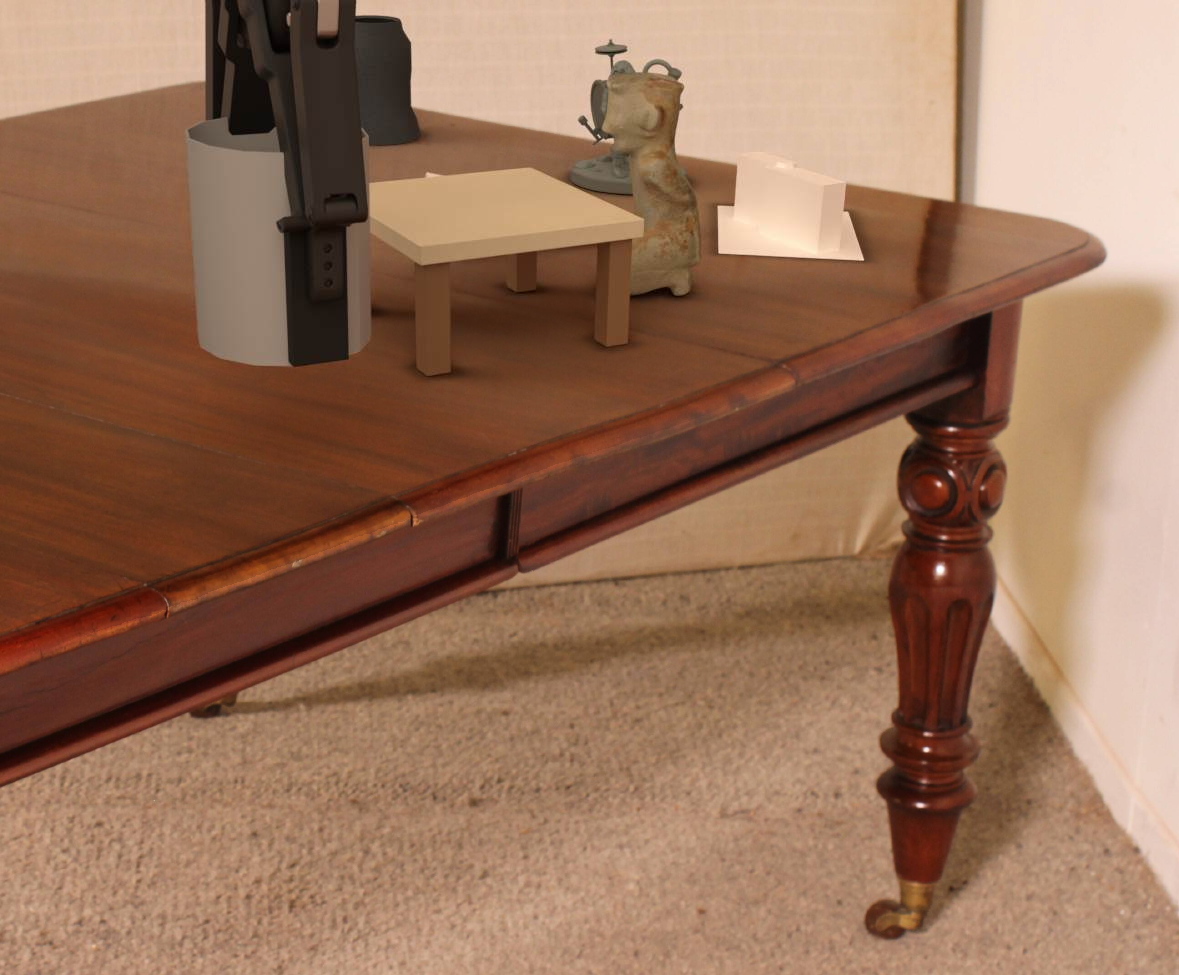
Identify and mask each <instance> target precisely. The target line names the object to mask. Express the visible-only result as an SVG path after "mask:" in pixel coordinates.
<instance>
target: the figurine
mask: <svg viewBox="0 0 1179 975" xmlns="http://www.w3.org/2000/svg"><path fill="white" fill-rule="evenodd" d="M608 40H609V42H607V44H603V45H599V46H596V47H595V48H594V53H595V54H596V55H600V56H608V57H609V58H610V59H609V60H610V74H609V76H608V78H609V77H610V76H612V75H615V74H619V73H634V72H636V69H635V68H634V67H633V64H631V62H630V61H628V60H625V59H622V60H618V61H617V62H615V63H614V57H615V56H616V55H621V54H624V53H627V52H628V46H627V45H625V44H615V43H614V42H613V39H612V38H610V39H609V38H608ZM656 65H659V66H662V67H664V68H665V69H666V71H668V72H667V74H666V75H667V76H671V77H673V78H675V79H676V80H677V81H678V80H679V79H680V78H681V77H682V74H683V72H682V71H681V70H680V69H679V68H677V67H672V65H671V64H670V63H669V62H668V61H666V60H663V59H661V58H655V59H652V60H650V61H648V62H647V63H646V64H645V65H644V66H643V69H642V72H646V73H649V70H650V68H652V67H654V66H656ZM608 78H607V79H603V80H602V79H595V80H594V81H593V82H592V84H591V88H590V95H589V96H590V97H589V99H590V112H591V118H592V122H593V126H594V128H592V127H591V126H590V125H589V123H588V122H589V120H588V118H586V116H585V115H580V116H579V117H578V118H577V121H578V123H579V124H580V125H581V126H584V127H585V128H586V129H587V130H588V132H589V133H590V134H591V135H592V136H593V138H594V139H595V141H594V142H592V145H593V146H595V145H596V144H598V143H599V142H600V141H602V140H605V141H607V140H609V139H613V136H612V135H610V134H608V133H605V132H603V130H602V126H603V123H604V120H605V117H606V114H607V106H608V95H609V90H608V87H607V80H608ZM683 109H684V105H683V103H680V111H682V110H683ZM609 149H610V152H611V155H609V154H603V155H601V156H599V157H591V158H585V159H580V160H578V161H576V162H574V163H572V164H571V165H570V167H569V180H570V182H571V183H572V184H574V185H576V186H578V187H580V188H583V189H587V190H589V191H590V190H591V191H593V192H601V193H607V194H621V195H633V191H632V183H631V175H630V165H629V154H628V153H620V152H617V151H616V150H615V147H614V143H612V144H611V145H610V148H609ZM679 167H680V169H681V171H682V172H683V174H684V175H685V177H686V178H687V179H688V170H687V168H685V167H684V166H682V165H681V164H679Z"/></svg>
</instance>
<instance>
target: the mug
mask: <svg viewBox="0 0 1179 975" xmlns="http://www.w3.org/2000/svg"><path fill="white" fill-rule="evenodd" d="M354 47H355V59H356V71H357V83H358V96H359V108H360V120H361V128H363V129H364V131H365V132H366V133H367V134H368V136H369V146H389V145H400V144H405V143H406V144H407V143H411V142H415V141H416V140H419V139H420V138H421V137H422V134H421V130H420V125H419V121H418V118H417V114H416V112H415V111H414V109H413V107H412V72H413V71H412V70H413V65H412V63H413V61H412V58H413V57H412V42H411V40H410V38H409V37H408V35H407V34H406V32H405V30H404V28H403V23H402V20H401V19H400V18H399V17H396V16H390V15H378V14H377V15H376V14H375V15H373V14H369V15H368V14H367V15H366V14H364V15H363V14H362V15H361V14H360V15H356V18H355V41H354Z"/></svg>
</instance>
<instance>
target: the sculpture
mask: <svg viewBox="0 0 1179 975" xmlns="http://www.w3.org/2000/svg"><path fill="white" fill-rule="evenodd" d="M667 75H668V74H663V73H657V72H648V73H646V72H643V71H640V72H639V71H635V72H634V73H619V74H615V75H612V76H610V75H609V76H610V77H609V76H608V77H609V78H607V79H606V80H607V87H608V90H609V95H608V106H607V114H606V117H605V120H604V123H603V126H602V130H603V132H605V133H608V134H610V135H612V136H613V138H612V139H613V144H614V147H615V150H616V151H617V152H620V153H628V154H629V165H630V175H631V183H632V191H633V194H632V200H633V210H634V215H636V216H638V217H641V218H643V219H644V234H643V237H642V238H635V239H632V258H631V281H630V296H637V295H643V294H647V293H649V292H651V291H655V290H657V289H662V288H668V289H669V290H670V292H671V293H672V294H673V295H674V296H676V297H677V296H678V297H680V296H684V295H686V294H688V293H689V292H690V290H691V286H692V269H693V267H695V266H697V265H698V264H699V263H700V262H701V261H702V251H701V250H702V235H701V225H700V213H699V207H698V200H697V195H696V193H695V190H694V188H693V187H692V184H691V183H690V181H689V180H688V177H687V178H686V177H685V175H684V174H683V172H682V171H681V169H680V167H679V165H680V164H679V162H678V158H677V153H676V134H677V128H678V122H679V117H680V111H681V110H680V104H681V96H682V93H683V92H684V89H685V85H684V84H683V83H682V82H680V81H678V80H676V79H675V78H673V77H671V76H667ZM595 264H596V267H595V268H596V269H597V263H595Z"/></svg>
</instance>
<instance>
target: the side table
mask: <svg viewBox="0 0 1179 975" xmlns="http://www.w3.org/2000/svg"><path fill="white" fill-rule="evenodd" d="M369 193H370V235H372V236H374V237H376V238H377V239H379V240H380V241H382V243H383V242H384V243H385V244H387V245H388V246H389V247H391V248H393V249H394V250H396V251H398V252H399V253H400V254H402V255H404V256H405V257H407V258H408V259H410V260H411V261H413V262H414V304H415V346H416V347H415V353H416V354H415V356H416V357H415V358H416V359H415V362H416V369H417V370H418V371H419V372H420V373H421V374H423V375H425V377H431V376H433V377H434V376H438V375H443V374H450V373H451V372H452V355H451V353H452V352H451V351H452V350H451V344H452V343H451V263H453V262H461V261H469V260H476V259H484V258H485V259H486V258H491V257H492V258H494V257H500V256H501V257H502V256H506V287H507V288H508V289H510V290H512V291H514V292H515V293H523V292H529V291H530V292H531V291H536V290H537V277H538V276H537V275H538V274H537V272H538V268H537V267H538V252H540V251H548V250H549V251H550V250H555V249H564V248H572V247H580V246H586V245H595V244H596V245H597V246H596V247H597V249H596V264H597V268H596V273H595V274H596V276H595V277H596V278H595V303H594V304H595V306H594V331H593V332H594V333H593V340H594V341H596V342H597V343H599V344H601V345H602V346H604V347H606V348H609V347H615V346H622V345H628V343H629V323H630V322H629V321H630V305H631V304H630V303H631V302H630V299H631V295H630V281H631V258H632V239H635V238H642V237H643V234H644V219H643V218H641V217H638V216H636V215H635V213H632V212H630V211H627V210H625V209H623V208H621V207H618V206H617V205H614V204H612V203H610V202H607V201H605V200H603V199H601V198H599V197H597V196H594V195H592V194H591V193H588V192H585V191H583V190H581V189H579V188H577V187H574V186H573V185H570V184H568V183H566V182H564V181H562V180H559V179H557V178H555V177H552V176H551V175H548V174H546V173H544V172H542V171H540V170H537V169H536V168H533V167H521V168H512V169H511V168H510V169H501V170H500V169H499V170H489V171H479V172H467V173H459V174H458V173H457V174H447V175H443V176H437V177H426V178H425V177H418V178H409V179H408V178H406V179H399V180H398V179H397V180H386V181H377V182H369ZM370 285H371V286H372V284H371V280H370Z"/></svg>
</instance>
